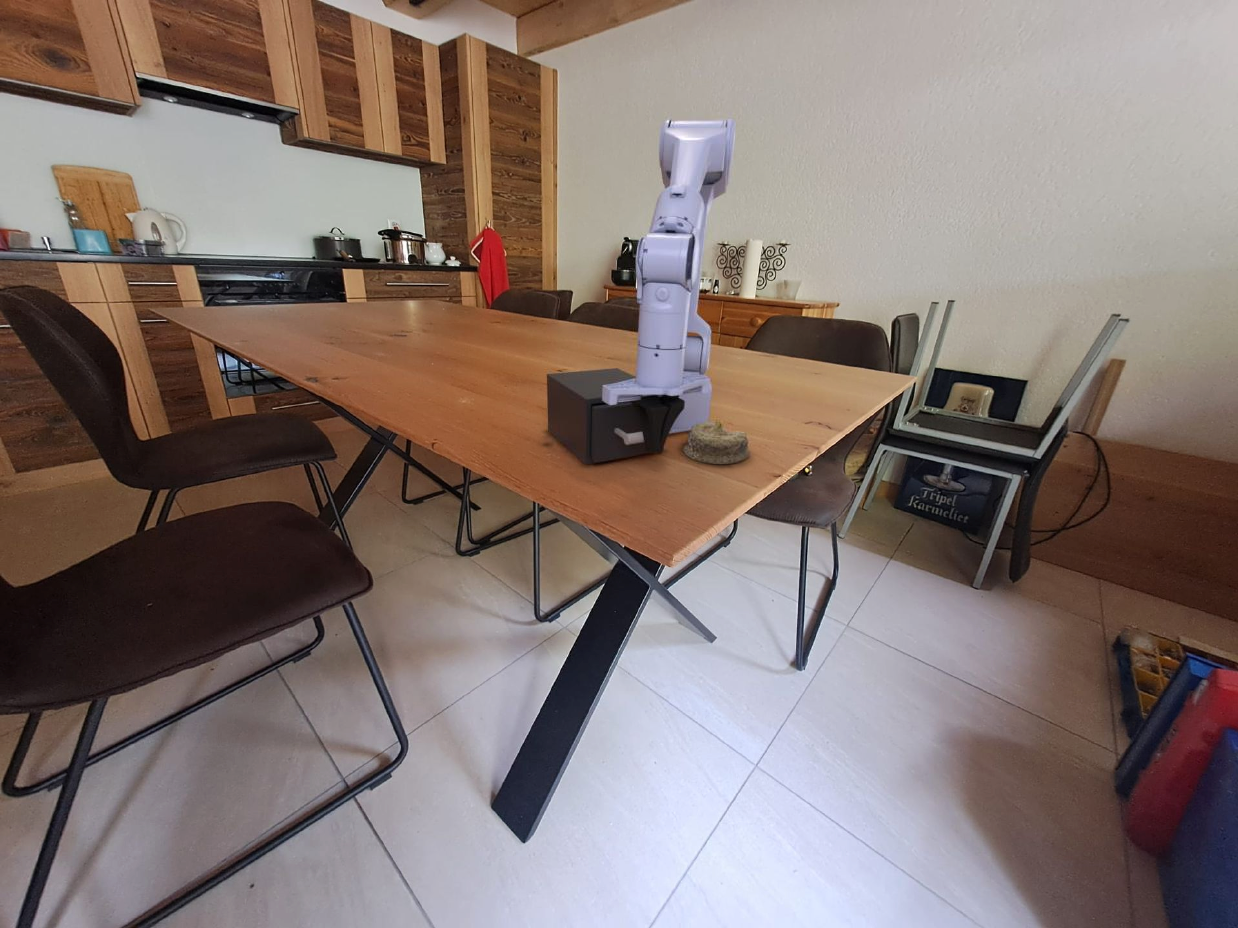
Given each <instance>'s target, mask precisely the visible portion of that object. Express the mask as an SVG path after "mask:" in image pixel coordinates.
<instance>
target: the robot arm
mask: <svg viewBox="0 0 1238 928" xmlns="http://www.w3.org/2000/svg"><path fill="white" fill-rule="evenodd" d="M736 130H737V123H736V122H735V121H734V118H728V119H691V120H690V119H683V120H682V119H681V120H679V119H678V120H675V119H674V120H672V118H666V120H665V121H664V122H663V124H662V125H661V128H660V133H659V134H660V135H659V145H658V161H659V168H660V172H661V179H662V184H663V185H664V189H663V190H662V191H661V192H660V194H659V195H658V197H657V199H656V202H655V208H654V210H653V211H654V212H653V215H652V219H651V223H650V227H649V230H648V233H647V234H646V236H645V237H640V238H639V239H638V243H637V248H636V254H635V275H636V276H635V277H636V303H637V304H639V310H638V326H637V327H638V329H637V349H636V366H635V377H636V378H634V379H630V380H626V381H622V382H618V383H614V384H609V385H603V388H602V401H603V402H605V403H607V404H608V405H616V404H617V402H625V401H631V404H632V406H633V407H634V410H635V412H636V414H637V416H638V419H639V422H640V425H641V428H642V432H643V437H644V443H645V449H646V450H647V451H649V452H650V453H649V454H652V455H658V454H662V453H663V451H664V450H663V448H664V449H665V444H666V442H667V440H668V436H669V435H671V434H678V433H683V432H690V429H691V428H692V426H695V425H696V424H698V423H700V424H701V423H703V422H707V423H709V421H710V420H709V419H710V410H711V403H712V396H713V388H712V387H713V386H712V383H711V378H710V377H708V376H707V375H706V374H707V372H708V371H709V370H708V369H709V362H710V356H711V355H710V354H711V349H712V348H711V347H712V329H711V326H710V325H709V324H708V322H706V321H705V320H704V319H703V318H702V317H701V316H700V315H699V314H698V307H699V296H700V287H701V279H702V272H703V271H702V269H703V262H704V254H705V245H706V244H705V243H706V235H707V227H708V218H709V213H710V211H711V208H712V205H713V202H714V200H715V199H716V198H718V197H720V196H722V195H724V194H726V192H727V187H728V186H729V184H730V177H731V171H732V170H731V169H732V165H733V159H734V158H733V157H734V151H735V142H736V132H737V131H736ZM688 333H693V334H698V335H690V334H689V335H688ZM662 450H663V451H662Z"/></svg>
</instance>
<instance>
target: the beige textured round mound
mask: <svg viewBox="0 0 1238 928" xmlns="http://www.w3.org/2000/svg"><path fill="white" fill-rule="evenodd" d="M686 442H687V443H686V444H685V445H684V447H683V452H684V454H685V455H686V456H687V457H688V458H690V459H692V460H694V461H696V462H701V463H707V464H713V465H729V464H737V463H739V462H741V461H745V460H746V459H747V458H749V456H750V449H749V439H748V434H746V432H745V431H739V430H736V431H733V432H729V431H728V430H727V429H725V428H724V425H723V423H722V420H720V419H716V420H715V422H713V421H708V423H707V422H703V423H701V424H700V423H698V424H696V425H695V426H692V428H691V429H690V431H688V434H687V439H686Z"/></svg>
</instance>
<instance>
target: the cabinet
mask: <svg viewBox="0 0 1238 928" xmlns="http://www.w3.org/2000/svg"><path fill="white" fill-rule="evenodd" d="M634 378H636V375H633V374H631V373H629V372H627V371H625V370H623V369H620V368H618V367H613V368H602V369H591V370H579V371H578V370H577V371H566V372H557V373H556V372H555V373H547V374H546V398H547V399H546V400H547V401H546V402H547V432H548V433H549V434H550V435H551V436H552V437H554V438H555V439H556V440H557V441H558V442H559V443H560V444H562V446H563V447H565V448H566V449H567V450H568V451H569V452H570V453H571V454H573V456H575V457H576V458H577V459H578V460H579V461H580V462H581V463H582V464H584V465H585V466H588V465H593V464H594V465H595V463H594V462H593V461H592V460H591V453H590V451H591V404H597V403H605V402H603V401H602V388H603V385H609V384H614V383H618V382H622V381H626V380H630V379H634ZM648 454H649V453H647V454H646V455H648ZM642 455H644V454H641V455H640V456H642ZM637 456H638V455H636V456H635V457H637ZM631 457H633V456H630V457H629V458H631ZM626 458H628V457H625V458H624V459H626ZM620 459H621V460H622V458H620ZM620 459H619V460H620ZM615 460H617V459H614V460H613V461H615ZM609 461H611V460H609ZM609 461H608V462H609ZM605 462H606V461H603V462H602V463H605ZM599 463H600V462H598V463H597V464H599Z"/></svg>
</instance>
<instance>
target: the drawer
mask: <svg viewBox="0 0 1238 928" xmlns="http://www.w3.org/2000/svg"><path fill="white" fill-rule="evenodd" d="M664 449H665V447H664V448H663V450H662V452H663V451H664ZM590 453H591V460H592V461H593V462H594V464H599V463H604V462H603V461H605V462H609V460H610V461H615V460H614V459H616V460H620V458H621V459H626V458H625V457H627V458H631V457H630V456H632V457H637V456H642V455H641V454H643V455H648V454H651V453H650V452H649V451H647V450H646V449H645V443H644V437H643V432H642V428H641V425H640V422H639V419H638V416H637V414H636V412H635V410H634V407H633V406H632V404H631V401H625V402H617V404H616V405H608V404H607V403H597V404H591V451H590ZM647 453H648V454H647ZM636 455H637V456H636ZM598 462H599V463H598Z"/></svg>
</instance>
